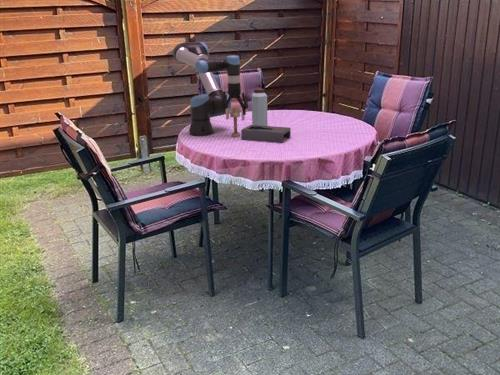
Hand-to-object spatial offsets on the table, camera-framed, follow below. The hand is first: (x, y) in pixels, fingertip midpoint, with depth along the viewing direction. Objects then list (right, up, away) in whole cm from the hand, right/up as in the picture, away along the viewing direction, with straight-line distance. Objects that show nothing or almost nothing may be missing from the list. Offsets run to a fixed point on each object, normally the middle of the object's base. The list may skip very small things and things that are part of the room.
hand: (235, 119), depth 310 cm
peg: (0, -10, +3) cm, 10 cm away
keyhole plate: (+19, -12, -4) cm, 22 cm away
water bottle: (+15, -3, +22) cm, 27 cm away
